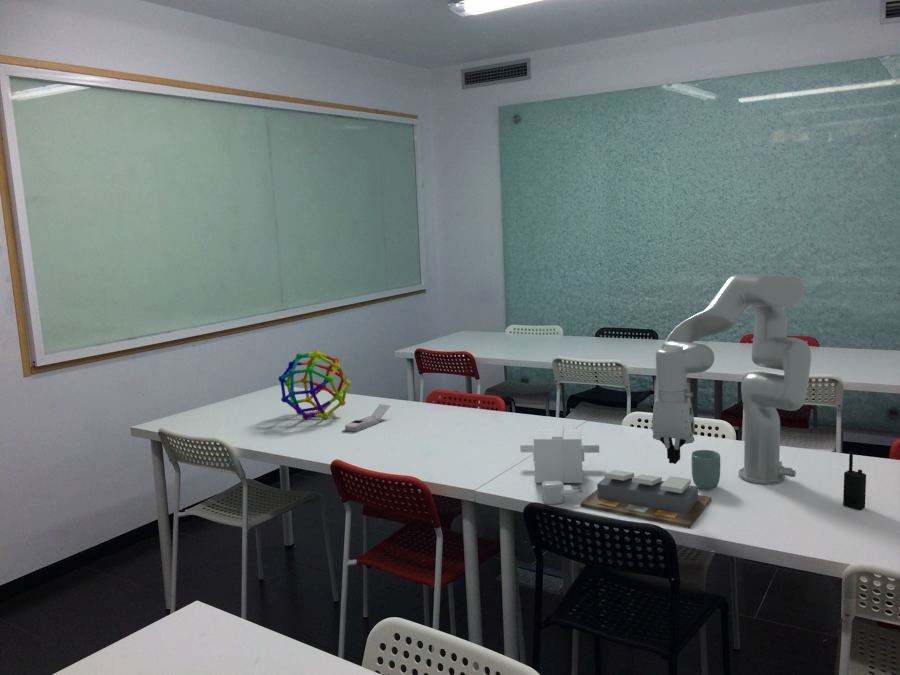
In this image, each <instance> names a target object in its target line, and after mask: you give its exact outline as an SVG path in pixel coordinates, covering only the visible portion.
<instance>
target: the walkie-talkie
mask: <svg viewBox="0 0 900 675" xmlns="http://www.w3.org/2000/svg"><path fill="white" fill-rule="evenodd" d="M848 457H849V458H848V470H846V471H845V472H844V473H843V494H842V497H843V498H842V499H843V500H842V502H843V503H842V505H843V507H845V508H850V509H854V510H856V511H861V510H864V509H865V508H866V493H867V492H866V490H867V487H866V486H867V474H866V473H863V470H862V469H860V468H859V469H857V471H856V470H853V463H854V462H853V461H854V460H853V459H854V458H853V457H854V451H853V450H849V456H848Z"/></svg>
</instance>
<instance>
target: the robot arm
mask: <svg viewBox="0 0 900 675" xmlns="http://www.w3.org/2000/svg"><path fill="white" fill-rule="evenodd" d="M805 288H806V287H805V283H804V281H803V280H802V279H801V278H800V277H799V276H797V275H794V274H793V275H791V274H771V273H770V274H769V273H767V274H766V273H756V274H754V273H738V274H733V275H731V276H729V277H728V279H727V280H726V281H725V283H724V284H723V285H722V286H721V288H720V289H719V290H718V291H717V293H716V294H715V295H714V297H713V298H712V300H711V301H710V302H709V303H708V305H707V306H706V307H705V309H704V310H701V311H700V312H698V313H695V314H694V315H692V316H691V317H689V318H687V319H685V320H683V321H682V322H681V323H679V324H678V325H676V326H675V327H674V328H673V330H671V332H670V333H669V335H668V336H667V337H666V338H665V340H664V341H663V344H662V345H661V347H660V348H659V349H658V350H657V351H656V352H655V375H656V377H655V378H656V382H655V383H656V397H655V399H654V403H653V410H652V419H651V420H652V421H651V422H652V424H651V427H652V428H651V429H652V430H651V432H652V433H653V434H652V439H654V440H657V441H659V442H661V443H662V444H663V445H664V448H666V457H667V459H668V463H669V464H674V465H676V464H677V463H678V462H679V461H680V460H681V448H682V446H684V445H685V444H686V445H687V444H688V445H689V444H693V443H694V442H695V436H694V434H695V432H696V431H695V430H696V428H695V417H694V416H695V415H694V409H693V405H692V401H691V399H689V398H693V396H694V395H693V393H694V392H692V391H689V388H688V386H687V384H688V381H687V380H688V379H687V375H689V374H699V373H703V372H706V371H709V369H711V367H712V366H713V364H714V363H715V354H714V353H715V352H714V351H713V349H712V348H711V347H710V346H708V345H706V344H703V343H697V342H695V341H697V340H699V339H702V338H706V337H709V336H713V335H717V334H721V333H725V332H728V331H730V330H731V329H732V328H734V326H735V325H736V323H737V322H738V320H739V318H741V316H742V314H743V313H744V312H745V311H746V309H747V307H749V306H751V308H752V310H753V314H754V318H755V321H754V322H755V323H754V332H753V339H752V340H753V341H752V346H751V360H752V362H753V363H754V364H755V365H756V366H758V367H762V368H766V369H771V370H772V369H773V370H778V371H783V375H782V374H777V373H771V372H767V371H766V372H765V371H753V372H750V373H748V374H746V375H745V376H744V377H743V379H742V381H741V384H740V385H741V386H740V388H741V390H740V391H741V396H742V402H743V408H744V450H743V451H744V453H743V456H744V457H743V458H744V459H743V460H744V461H743V466H744V467H741V468H740V469H739V470H738V476H739V477H740V479H742V480H744V481H745V482H746V481H747V482H749V483H754V484H758V485H759V484H760V485H774V484H779V483H781V482H784V481H785V479H786V477H791V478H795V477H796V476H797V475H796V473H797V471H796V470H795V469H793V467H785V466H784V465H783V461H780V457H781V456H780V448H781V447H780V446H781V444H780V443H781V441H780V440H781V439H780V438H781V419H780V415H779V412H778V410H785V411H789V412H790V411H793V412H794V411H797V410H800V409H801V408H802V407H803V405H804V403H805V400H806V397H807V393H808V385H809V380H810V379H809V378H810V371H811V366H812V365H811V364H812V350H811V348H810V346H809V344H808V343H807V341H805V340H803V339H802V338H801V339H800V338H798V337H788V336H787V333H788V332H787V330H788V324H789V323H788V316H787V313H786V310H785V308H784V307H794V306H797V304H799V303H800V302H801V301H802V300H803V298H804V296H805V292H806V291H805V290H806V289H805ZM777 409H778V410H777ZM673 439H674V441H673ZM673 442H674V443H673Z"/></svg>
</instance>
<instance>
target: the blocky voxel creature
mask: <svg viewBox="0 0 900 675" xmlns="http://www.w3.org/2000/svg"><path fill="white" fill-rule="evenodd" d="M519 448H520V453H532V455H533V456H532V457H533V462H534V483H539V484H540V483H541V484H542V482H544V481H561V482H562V484H563V485H565V483H566V484H582V483H583V462H585V453H587V454H589V453H590V454H591V453H592V454H594V453H595V454H597V453H598V454H599V453H600V443H582V428H568V429H567V428H564V426H553V428H547V429H546V428H537V429H536V430H535V433H534V438H533V443H520V447H519Z"/></svg>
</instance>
